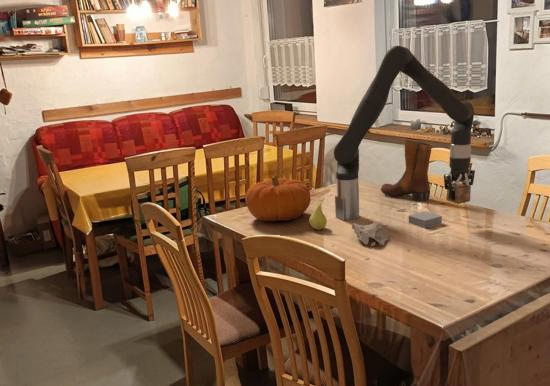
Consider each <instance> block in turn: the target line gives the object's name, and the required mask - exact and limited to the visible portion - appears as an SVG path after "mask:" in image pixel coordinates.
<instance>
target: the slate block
mask: <svg viewBox="0 0 550 386" xmlns="http://www.w3.org/2000/svg"><path fill="white" fill-rule="evenodd" d="M442 222H443V217H442V215H440V214H437V213H436V214H435V213H432V212H430V211H426V210H424V211H421V212H417V213H414V214H410V215H408V223H409V224H412V225H413V226H417V227H419V228H422V229H427V228H431V227H435V226H438V225H441V224H443V223H442Z"/></svg>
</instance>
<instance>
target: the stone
mask: <svg viewBox="0 0 550 386" xmlns="http://www.w3.org/2000/svg"><path fill="white" fill-rule="evenodd" d="M351 229H352V230H353V232H354V234H355V235H356V237H357V238H358V239H359V240H360V242H362V243H363V244H365V245H368V244H369V240H370V239H369V238H372V240H373V239H374V240H375V241H373V242H371V244H370V246H369V247H370V248H372V247H373V246H375V245H376V242H378V245H381V246H384V245H385V243H386V242H387V241H389V240H390V239H389V230H387V229H385V228H384V226H382V225H381V223H378V222H377V221H376V222H374V223H370V224H366V225H361V224H358V223H354V222H353V224H352V226H351Z"/></svg>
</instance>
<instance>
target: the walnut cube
mask: <svg viewBox="0 0 550 386" xmlns="http://www.w3.org/2000/svg"><path fill="white" fill-rule="evenodd" d="M452 187H453V185H452ZM471 189H472V185H471V186H469V185H465V184H462V183H461V182H459V184H458V185H457V186H456V189H455V200H450V199H449V190H448V189H446V190H447V191H446V201H448V202H451V203H454V204H458V205H460V204H464V203H469V202H471V192H472V191H471Z"/></svg>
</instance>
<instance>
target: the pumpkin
mask: <svg viewBox="0 0 550 386" xmlns="http://www.w3.org/2000/svg"><path fill="white" fill-rule="evenodd" d="M311 197H312V196H311V192H310V189H309V188H308V186H307V185H306V184H304V183H303V182H302V181H300V180H298V179H290V178H286V177H278V176H277V174H276V173H274V174H273V176H272V177H271V178H270V179H269V178H268V179H266V180H264V181H259V182H257V183H255V184H253V185H251V186H250V187H249V188H248V189H247V191H246V193H245V197H244V198H245V201H244V202H245V205H246V208H247V209H248V211H249V213H250V214H251V215H252V216H253V218H255V219H257V220H260V221H263V222H276V221H291V220H295V219H297V218H299V217H300V216H302V215H303V214H304V213H305V212H306V211H307V209H308V208H309V207H310V205H311V200H312V199H311Z"/></svg>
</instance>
